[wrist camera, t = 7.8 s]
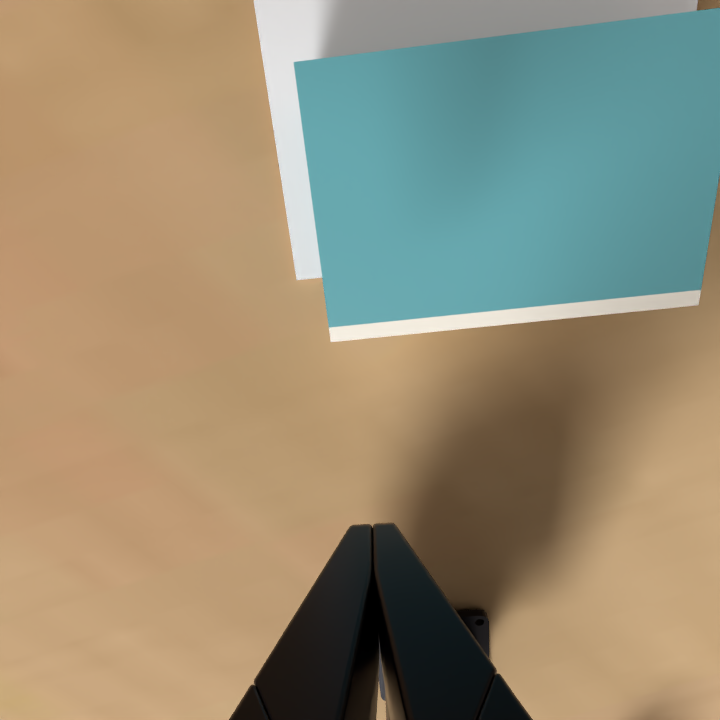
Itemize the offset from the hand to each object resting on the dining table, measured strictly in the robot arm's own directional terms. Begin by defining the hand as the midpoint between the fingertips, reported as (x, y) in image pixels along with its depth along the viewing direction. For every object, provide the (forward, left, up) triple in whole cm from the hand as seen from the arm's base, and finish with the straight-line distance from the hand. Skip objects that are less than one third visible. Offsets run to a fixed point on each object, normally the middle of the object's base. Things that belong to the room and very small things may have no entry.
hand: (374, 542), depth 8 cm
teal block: (+2, -5, -9) cm, 10 cm away
